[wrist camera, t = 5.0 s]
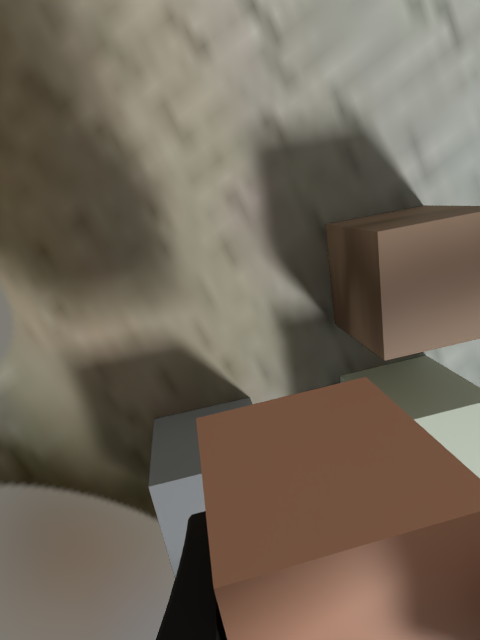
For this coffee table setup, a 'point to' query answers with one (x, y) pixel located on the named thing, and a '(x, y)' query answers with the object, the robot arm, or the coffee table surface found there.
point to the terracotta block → (339, 521)
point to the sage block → (433, 403)
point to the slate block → (179, 474)
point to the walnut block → (407, 278)
